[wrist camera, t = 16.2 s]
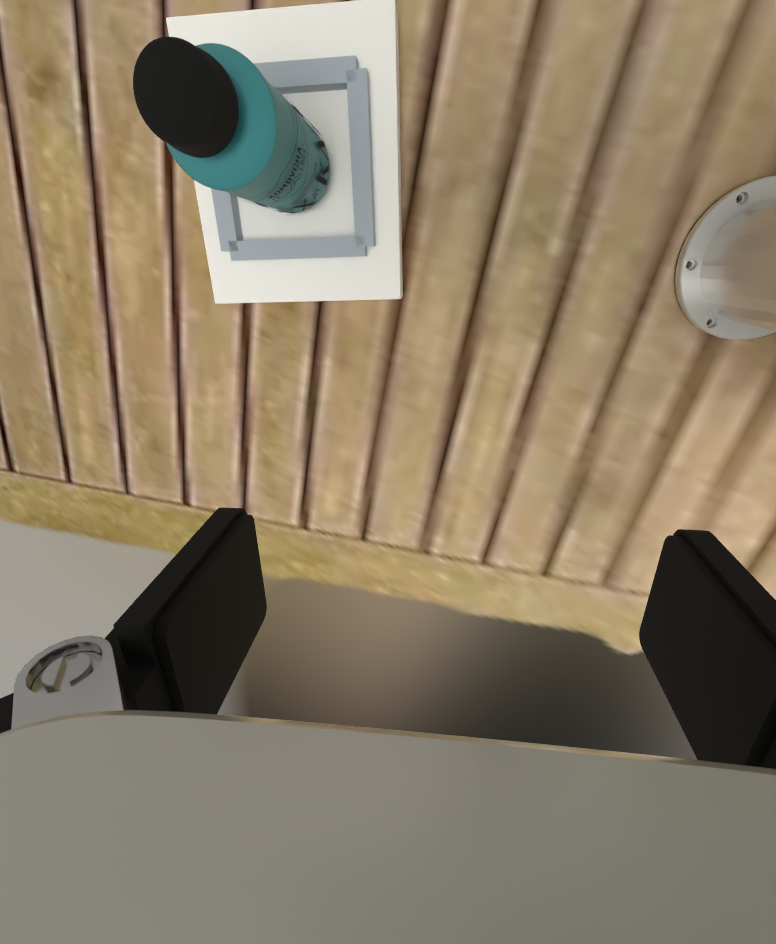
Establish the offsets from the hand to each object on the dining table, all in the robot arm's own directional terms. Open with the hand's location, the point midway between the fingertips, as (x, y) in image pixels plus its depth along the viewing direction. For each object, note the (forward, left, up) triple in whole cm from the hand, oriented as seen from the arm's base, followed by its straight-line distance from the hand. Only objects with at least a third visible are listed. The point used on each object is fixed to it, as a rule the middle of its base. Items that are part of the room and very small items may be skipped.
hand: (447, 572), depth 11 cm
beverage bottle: (+12, -13, -35) cm, 39 cm away
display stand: (+12, -13, -38) cm, 42 cm away
